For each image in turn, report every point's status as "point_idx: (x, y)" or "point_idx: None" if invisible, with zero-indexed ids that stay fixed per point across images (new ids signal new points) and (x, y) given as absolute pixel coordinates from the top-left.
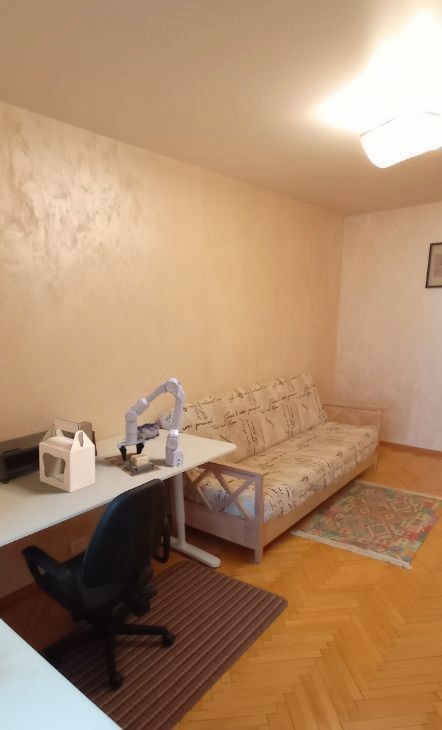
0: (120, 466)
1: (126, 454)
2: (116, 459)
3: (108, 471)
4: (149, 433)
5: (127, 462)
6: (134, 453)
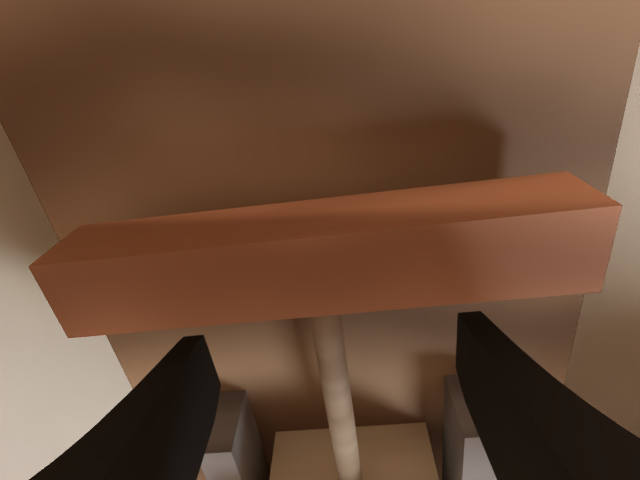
0: (155, 350)
1: (277, 251)
2: (72, 233)
3: (14, 350)
4: None
5: (219, 470)
6: (478, 265)
